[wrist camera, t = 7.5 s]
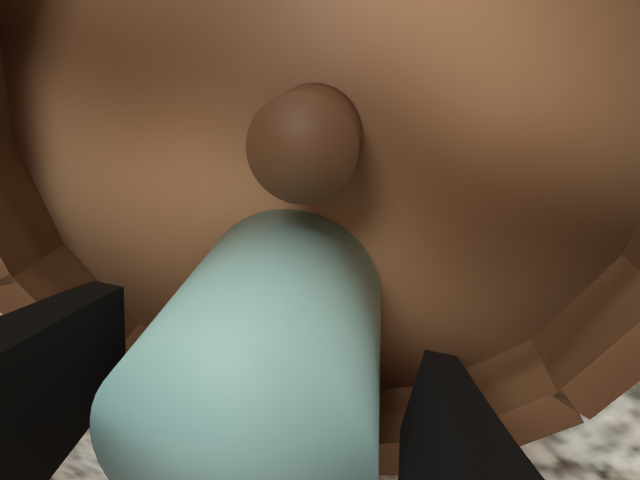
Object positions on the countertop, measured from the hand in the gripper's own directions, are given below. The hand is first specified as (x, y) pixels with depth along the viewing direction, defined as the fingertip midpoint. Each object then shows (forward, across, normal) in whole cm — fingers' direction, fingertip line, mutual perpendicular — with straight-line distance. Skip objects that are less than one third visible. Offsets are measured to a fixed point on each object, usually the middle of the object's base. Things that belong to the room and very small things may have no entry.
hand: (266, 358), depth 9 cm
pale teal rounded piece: (+3, 0, 0) cm, 3 cm away
